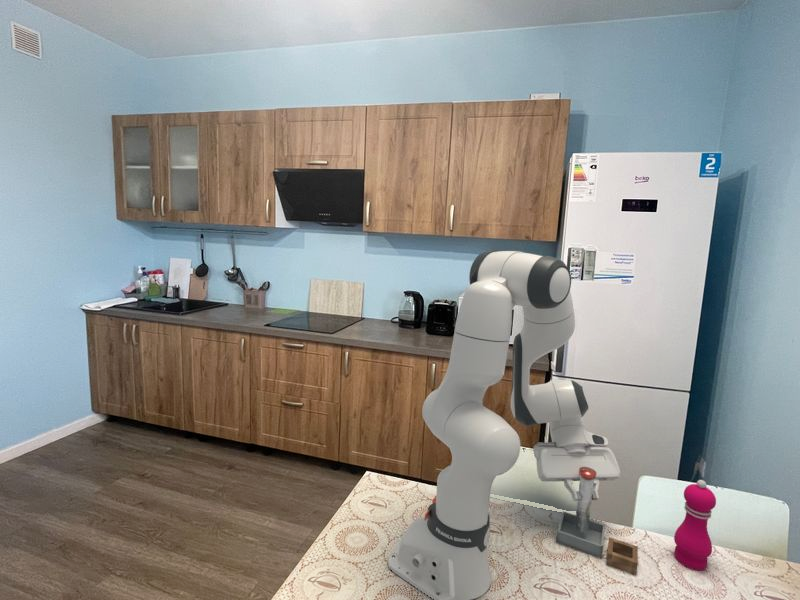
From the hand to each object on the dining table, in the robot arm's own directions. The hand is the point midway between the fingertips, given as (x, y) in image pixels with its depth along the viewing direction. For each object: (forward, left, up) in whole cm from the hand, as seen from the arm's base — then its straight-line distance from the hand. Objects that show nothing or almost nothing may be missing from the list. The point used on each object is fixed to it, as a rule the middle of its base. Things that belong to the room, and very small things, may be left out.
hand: (586, 500), depth 102 cm
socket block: (+9, -2, -11) cm, 14 cm away
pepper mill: (+23, +7, -11) cm, 26 cm away
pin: (0, +1, -8) cm, 8 cm away
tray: (0, +1, -11) cm, 11 cm away
